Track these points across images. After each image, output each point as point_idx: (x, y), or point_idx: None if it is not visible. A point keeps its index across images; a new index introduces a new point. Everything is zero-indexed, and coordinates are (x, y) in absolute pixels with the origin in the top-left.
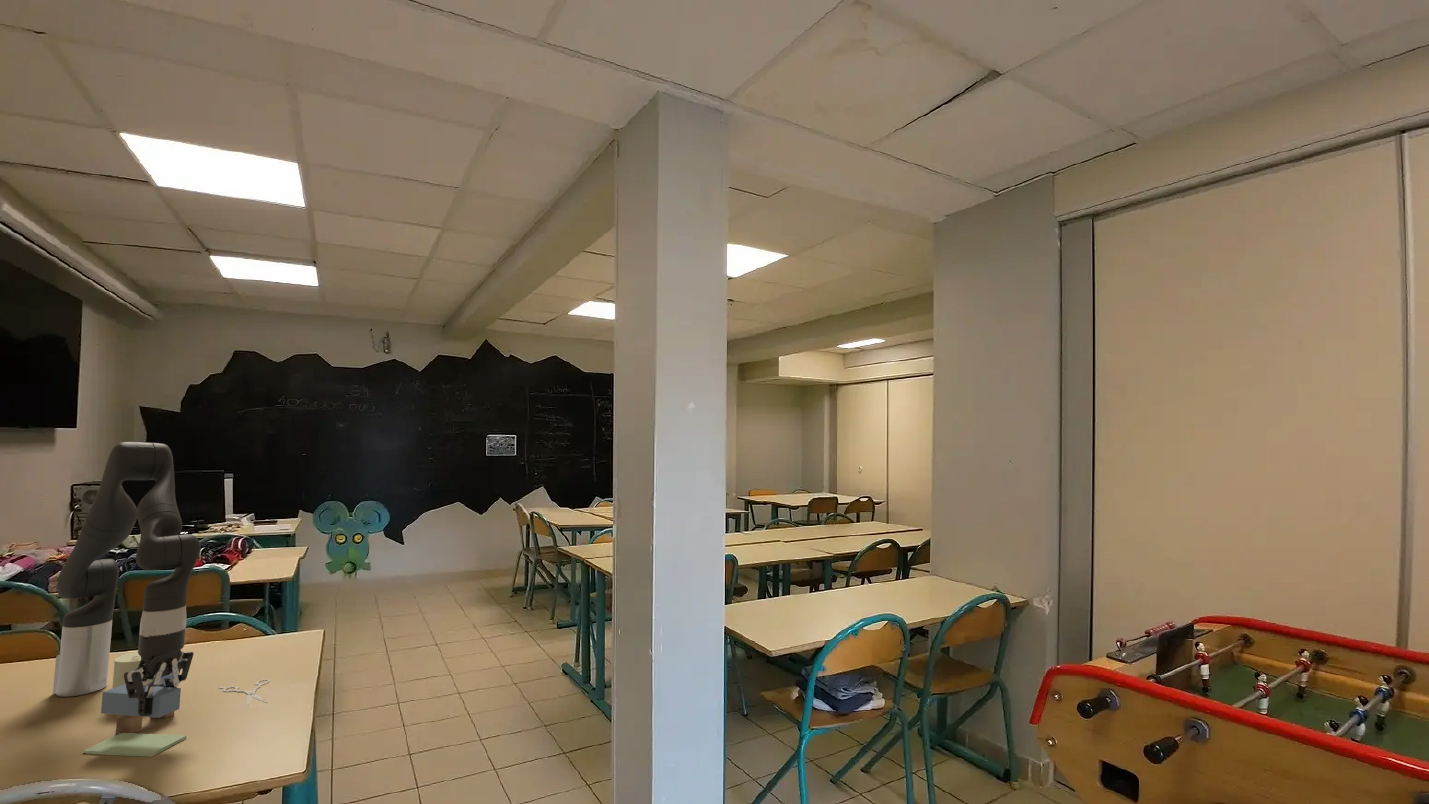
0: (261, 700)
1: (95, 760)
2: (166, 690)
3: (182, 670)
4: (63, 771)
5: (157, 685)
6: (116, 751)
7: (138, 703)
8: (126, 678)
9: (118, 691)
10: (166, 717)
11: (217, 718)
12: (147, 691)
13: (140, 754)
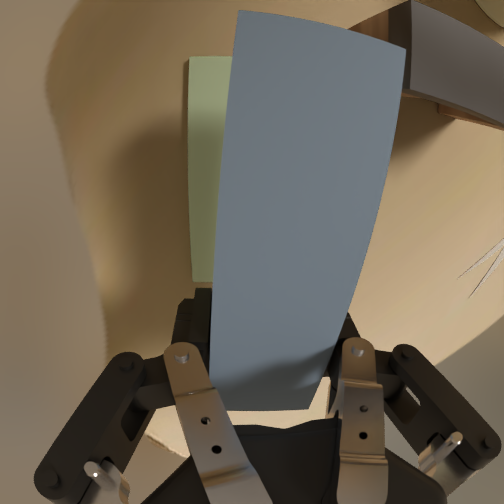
0: (483, 278)
1: (154, 141)
2: (280, 387)
3: (400, 421)
4: (90, 120)
5: (495, 116)
6: (192, 170)
7: (173, 333)
8: (51, 465)
9: (259, 123)
10: (438, 112)
11: (417, 257)
12: (176, 408)
13: (191, 250)
